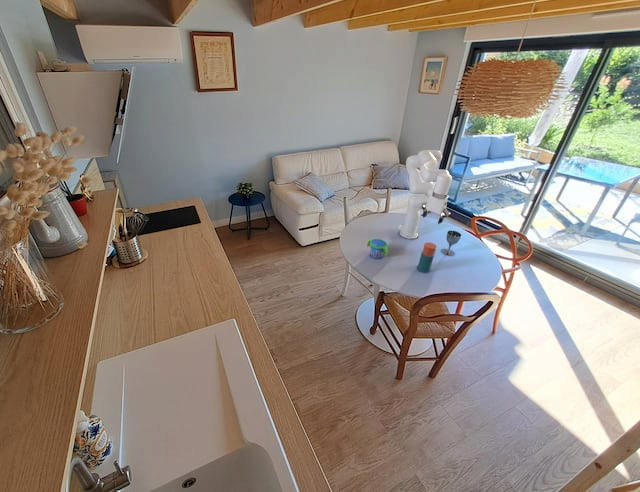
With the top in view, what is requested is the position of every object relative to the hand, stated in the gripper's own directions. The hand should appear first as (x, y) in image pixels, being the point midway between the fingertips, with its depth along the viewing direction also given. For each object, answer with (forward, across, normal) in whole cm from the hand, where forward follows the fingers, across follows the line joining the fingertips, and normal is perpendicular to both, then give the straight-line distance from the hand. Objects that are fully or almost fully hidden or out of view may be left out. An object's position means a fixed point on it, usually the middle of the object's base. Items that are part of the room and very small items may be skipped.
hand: (431, 219), depth 175 cm
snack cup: (+28, +19, +23) cm, 41 cm away
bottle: (+28, -8, +12) cm, 31 cm away
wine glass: (+28, -9, -18) cm, 35 cm away
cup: (+16, -8, +12) cm, 21 cm away
